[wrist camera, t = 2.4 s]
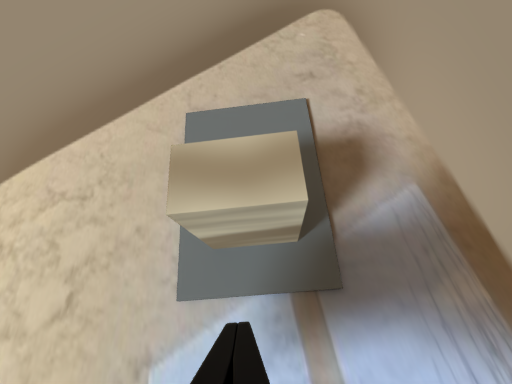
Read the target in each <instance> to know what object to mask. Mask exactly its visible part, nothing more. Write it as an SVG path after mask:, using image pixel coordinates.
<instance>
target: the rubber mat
mask: <svg viewBox="0 0 512 384" xmlns="http://www.w3.org/2000/svg"><path fill="white" fill-rule="evenodd" d="M296 130H297V136H298V142H299V148H300V154H301V160H302V166H303V172H304V177H305V183H306V189H307V195H308V203H307V207H306V211H305V215H304V219H303V222H302V226H301V230H300V234H299V238H298V241H297V242H286V243H275V244H264V245H253V246H243V247H232V248H221V249H213V248H211V247H210V246H208V245H207V244H206V243H204V242H203V241H202V240H200V239H199V238H197V237H196V236H195V235H193V234H192V233H190V232H189V231H188V230H186V229H185V228H184V227H182V226H181V225H180V243H179V263H178V282H177V301H189V300H202V299H214V298H227V297H239V296H252V295H264V294H277V293H289V292H302V291H315V290H327V289H340V288H343V286H342V281H341V276H340V271H339V266H338V261H337V256H336V251H335V246H334V241H333V235H332V230H331V225H330V220H329V215H328V210H327V205H326V200H325V195H324V190H323V185H322V180H321V174H320V169H319V164H318V159H317V154H316V149H315V144H314V139H313V134H312V129H311V124H310V119H309V113H308V108H307V103H306V98H302V99H295V100H287V101H279V102H271V103H263V104H255V105H247V106H239V107H231V108H223V109H215V110H207V111H200V112H192V113H186V125H185V144H186V143H195V142H203V141H212V140H220V139H228V138H237V137H245V136H254V135H262V134H271V133H279V132H287V131H296Z"/></svg>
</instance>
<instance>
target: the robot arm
mask: <svg viewBox="0 0 512 384" xmlns="http://www.w3.org/2000/svg"><path fill="white" fill-rule="evenodd" d="M190 384H270V382H269V379H268V376H267V373H266V370H265V367H264V364H263V361H262V358H261V355H260V352H259V349H258V346H257V343H256V340H255V337H254V334H253V331H252V328H251V325H250V323H249V322H239V323H227V324H226V325H225V327H224V328H223V330H222V332H221V333H220V335H219V337H218V338H217V340H216V342H215V343H214V345H213V347H212V348H211V350H210V352H209V353H208V355H207V357H206V358H205V360H204V362H203V363H202V365H201V366H200V368H199V370H198V371H197V373H196V375H195V376H194V378H193V380H192V381H191V383H190Z"/></svg>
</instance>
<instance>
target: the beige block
mask: <svg viewBox="0 0 512 384" xmlns="http://www.w3.org/2000/svg"><path fill="white" fill-rule="evenodd" d="M307 203H308V195H307V189H306V183H305V177H304V172H303V166H302V160H301V154H300V148H299V142H298V136H297V130H296V131H287V132H279V133H271V134H262V135H254V136H245V137H237V138H228V139H220V140H212V141H203V142H195V143H186V144H178V145H171V154H170V167H169V180H168V193H167V206H166V215H167V216H168V217H170V218H171V219H172V220H174V221H175V222H177V223H178V224H179V225H181V226H182V227H184V228H185V229H186V230H188V231H189V232H190V233H192V234H193V235H195V236H196V237H197V238H199V239H200V240H202V241H203V242H204V243H206V244H207V245H208V246H210V247H211V248H213V249H221V248H232V247H243V246H253V245H264V244H275V243H286V242H297V241H298V238H299V234H300V230H301V226H302V222H303V219H304V215H305V211H306V207H307Z"/></svg>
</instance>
